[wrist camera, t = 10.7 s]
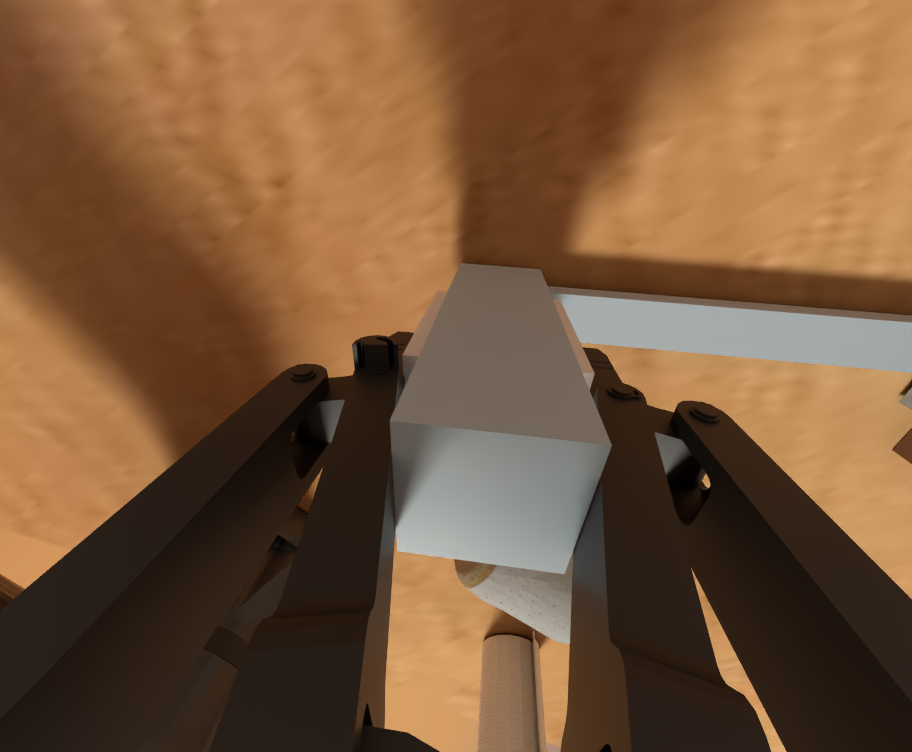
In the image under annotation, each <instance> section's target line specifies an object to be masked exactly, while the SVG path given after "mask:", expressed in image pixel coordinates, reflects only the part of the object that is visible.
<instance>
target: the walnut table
mask: <svg viewBox="0 0 912 752" xmlns="http://www.w3.org/2000/svg"><path fill="white" fill-rule="evenodd" d="M893 451H894V452H896V453H897V454H899V455H900V456H901V457H903V458H904V459H906V460H907V461H908V462H910V463H911V464H912V430H910V431H909V432H908V434H907V435H906V436H905V437H904V438H903V439H902V440H901V441H900V442H899V443H898V444H897V446H896V447H895V448H894V449H893Z"/></svg>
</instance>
